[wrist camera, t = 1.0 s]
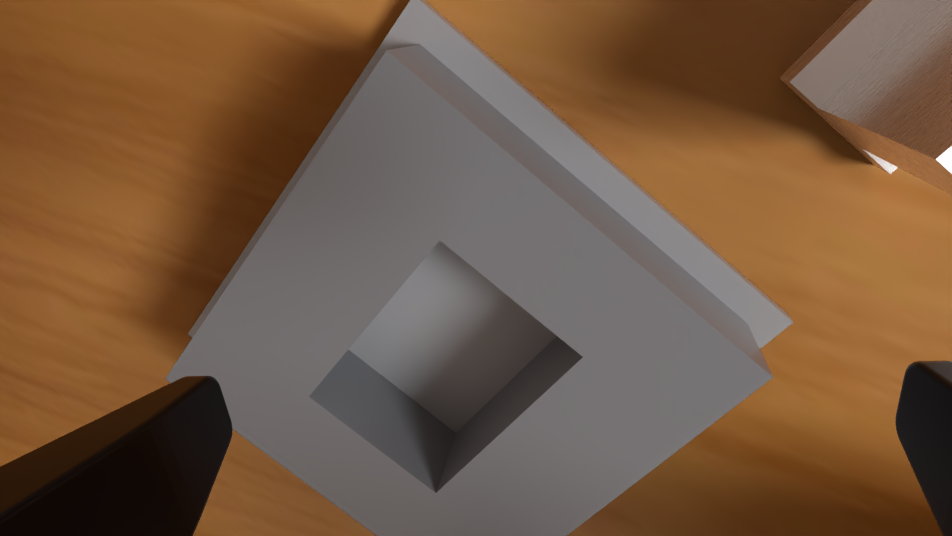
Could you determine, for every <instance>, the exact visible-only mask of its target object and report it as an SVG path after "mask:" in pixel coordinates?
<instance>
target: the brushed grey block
mask: <svg viewBox="0 0 952 536" xmlns="http://www.w3.org/2000/svg"><path fill="white" fill-rule="evenodd" d="M779 79H780V80H781V81H782V82H784V83H785V84H786V85H787V86H788V87H789V88H790V89H791V90H792V91H793V92H795V93H796V94H797V95H798V96H799V97H800V98H801V99H802V100H803V101H804V102H805V103H807V104H808V105H809V106H810V107H811V108H812V109H813V110H814V111H815V112H816V113H817V114H819V115H820V116H821V117H822V118H823V119H824V120H825V121H826V122H827V123H828V124H829V125H831V126H832V127H833V128H834V129H835V130H836V131H837V132H838V133H839V134H840V135H841V136H843V137H844V138H845V139H846V140H847V141H848V142H849V143H850V144H851V145H852V146H854V147H855V148H856V149H857V150H858V151H859V152H860V153H861V154H862V155H863V156H864V157H866V158H867V159H868V160H869V161H870V162H871V163H872V164H873V165H875V166H876V167H878V168H880V169H882V170H884V171H885V172H887V173H889V174H891V173H892V172H893V171H894V170H896V169H897V168H900V169H902V170H904V171H906V172H908V173H910V174H912V175H914V176H916V177H918V178H920V179H921V180H923V181H925V182H927V183H929V184H931V185H933V186H935V187H937V188H939V189H941V190H943V191H945V192H947V193H948V194H950V195H952V0H856V1H855V2H854V3H853V4H852V5H851V6H850V7H849V8H848V9H847V10H846V11H845V12H844V13H843V14H842V15H841V16H840V17H839V18H838V19H837V20H836V21H835V22H834V23H833V24H832V25H831V26H830V27H829V28H828V29H827V30H826V31H825V32H824V33H823V34H822V35H821V36H820V37H819V38H818V39H817V40H816V41H815V42H814V43H813V44H812V45H811V46H810V47H809V48H808V49H807V50H806V51H805V52H804V53H803V54H802V55H801V56H800V57H799V58H798V59H797V60H796V61H795V62H794V63H793V64H792V65H791V66H790V67H789V68H788V69H787V70H786V71H785V72H784V73H783V74H782V75H781V76H780V77H779Z"/></svg>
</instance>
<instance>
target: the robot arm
mask: <svg viewBox="0 0 952 536" xmlns="http://www.w3.org/2000/svg"><path fill="white" fill-rule="evenodd" d="M896 430H897V434H898V437H899V440H900V442H901V444H902V446H903V449H904V451H905V453H906V455H907V457H908V460H909V462H910V464H911V466H912V468H913V471H914V473H915V475H916V477H917V480H918V482H919V484H920V486H921V488H922V491H923V493H924V495H925V497H926V500H927V502H928V504H929V506H930V508H931V511H932V513H933V515H934V517H935V520H936V522H937V524H938V526H939V528H940V531H941V533H942V535H943V536H952V362H951V361H917V362H914V363H912V364H910V365H909V366H908V368H907V369H906V372H905V375H904V380H903V385H902V390H901V394H900V399H899V404H898V409H897V413H896ZM231 437H232V422H231V418H230V415H229V412H228V409H227V406H226V403H225V400H224V397H223V393H222V390H221V387H220V385H219V382H218V381H217V380H216V379H215V378H214V377H212V376H186V377H183V378H180V379H178V380H176V381H174V382H172V383H170V384H168V385H166V386H164V387H162V388H160V389H158V390H156V391H154V392H152V393H150V394H148V395H146V396H144V397H142V398H139V399H137V400H135V401H133V402H131V403H129V404H127V405H125V406H123V407H121V408H119V409H117V410H115V411H113V412H111V413H109V414H107V415H105V416H103V417H101V418H99V419H97V420H95V421H93V422H91V423H89V424H86V425H84V426H82V427H80V428H78V429H76V430H74V431H72V432H70V433H68V434H66V435H64V436H62V437H60V438H58V439H56V440H54V441H52V442H50V443H48V444H46V445H44V446H42V447H40V448H38V449H36V450H34V451H31V452H29V453H27V454H25V455H23V456H21V457H19V458H17V459H15V460H13V461H11V462H9V463H7V464H5V465H3V466H1V467H0V536H193V534H194V531H195V529H196V527H197V524H198V522H199V520H200V517H201V515H202V512H203V510H204V507H205V505H206V502H207V499H208V497H209V494H210V492H211V489H212V487H213V484H214V482H215V479H216V477H217V474H218V471H219V469H220V466H221V464H222V461H223V459H224V456H225V454H226V451H227V449H228V446H229V443H230V441H231Z"/></svg>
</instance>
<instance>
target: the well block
mask: <svg viewBox="0 0 952 536" xmlns="http://www.w3.org/2000/svg"><path fill="white" fill-rule="evenodd" d="M792 323H793V321H792V320H791V318H790V316H789V315H788V314H787V313H786V312H785V311H784V310H783V309H781V308H780V307H779V306H778V305H777V304H776V303H774V302H773V301H772V300H771V299H770V298H769V297H768V296H766V295H765V294H764V293H763V292H762V291H761V290H759V289H758V288H757V287H756V286H755V285H754V284H752V283H751V282H750V281H749V280H748V279H747V278H746V277H744V276H743V275H742V274H741V273H740V272H739V271H737V270H736V269H735V268H734V267H733V266H732V265H730V264H729V263H728V262H727V261H726V260H725V259H723V258H722V257H721V256H720V255H719V254H718V253H717V252H715V251H714V250H713V249H712V248H711V247H710V246H708V245H707V244H706V243H705V242H704V241H703V240H701V239H700V238H699V237H698V236H697V235H696V234H695V233H693V232H692V231H691V230H690V229H689V228H688V227H686V226H685V225H684V224H683V223H682V222H681V221H679V220H678V219H677V218H676V217H675V216H674V215H673V214H671V213H670V212H669V211H668V210H667V209H666V208H664V207H663V206H662V205H661V204H660V203H659V202H657V201H656V200H655V199H654V198H653V197H652V196H650V195H649V194H648V193H647V192H646V191H645V190H644V189H642V188H641V187H640V186H639V185H638V184H637V183H635V182H634V181H633V180H632V179H631V178H630V177H628V176H627V175H626V174H625V173H624V172H623V171H622V170H620V169H619V168H618V167H617V166H616V165H615V164H613V163H612V162H611V161H610V160H609V159H608V158H606V157H605V156H604V155H603V154H602V153H601V152H599V151H598V150H597V149H596V148H595V147H594V146H593V145H591V144H590V143H589V142H588V141H587V140H586V139H584V138H583V137H582V136H581V135H580V134H579V133H577V132H576V131H575V130H574V129H573V128H572V127H571V126H569V125H568V124H567V123H566V122H565V121H564V120H562V119H561V118H560V117H559V116H558V115H557V114H555V113H554V112H553V111H552V110H551V109H550V108H549V107H547V106H546V105H545V104H544V103H543V102H542V101H540V100H539V99H538V98H537V97H536V96H535V95H533V94H532V93H531V92H530V91H529V90H528V89H526V88H525V87H524V86H523V85H522V84H521V83H520V82H518V81H517V80H516V79H515V78H514V77H513V76H511V75H510V74H509V73H508V72H507V71H506V70H504V69H503V68H502V67H501V66H500V65H499V64H498V63H496V62H495V61H494V60H493V59H492V58H491V57H489V56H488V55H487V54H486V53H485V52H484V51H482V50H481V49H480V48H479V47H478V46H477V45H476V44H474V43H473V42H472V41H471V40H470V39H469V38H467V37H466V36H465V35H464V34H463V33H462V32H460V31H459V30H458V29H457V28H456V27H455V26H453V25H452V24H451V23H450V22H449V21H448V20H447V19H445V18H444V17H443V16H442V15H441V14H440V13H438V12H437V11H436V10H435V9H434V8H433V7H431V6H430V5H429V4H428V3H427V2H426V1H425V0H410V1H409V3H408V4H407V6H406V7H405V9H404V10H403V12H402V13H401V15H400V16H399V18H398V19H397V21H396V22H395V24H394V25H393V27H392V28H391V30H390V31H389V33H388V34H387V36H386V37H385V39H384V40H383V42H382V43H381V45H380V46H379V48H378V49H377V51H376V52H375V54H374V55H373V57H372V58H371V60H370V61H369V63H368V64H367V66H366V67H365V69H364V70H363V72H362V73H361V75H360V76H359V78H358V79H357V81H356V82H355V84H354V85H353V87H352V88H351V90H350V91H349V93H348V94H347V96H346V97H345V99H344V100H343V102H342V103H341V105H340V106H339V108H338V109H337V111H336V112H335V114H334V115H333V117H332V118H331V120H330V121H329V123H328V124H327V126H326V127H325V129H324V130H323V132H322V133H321V135H320V136H319V138H318V139H317V141H316V142H315V144H314V145H313V147H312V148H311V150H310V151H309V153H308V154H307V156H306V157H305V159H304V160H303V162H302V163H301V165H300V166H299V168H298V169H297V171H296V172H295V174H294V175H293V177H292V178H291V180H290V181H289V183H288V184H287V186H286V187H285V189H284V190H283V192H282V193H281V195H280V196H279V198H278V199H277V201H276V202H275V204H274V205H273V207H272V208H271V210H270V211H269V213H268V214H267V216H266V217H265V219H264V220H263V222H262V223H261V225H260V226H259V228H258V229H257V231H256V232H255V234H254V235H253V237H252V238H251V240H250V241H249V243H248V244H247V246H246V247H245V249H244V250H243V252H242V253H241V255H240V256H239V258H238V259H237V261H236V262H235V264H234V265H233V267H232V268H231V270H230V271H229V273H228V274H227V276H226V277H225V279H224V280H223V282H222V283H221V285H220V286H219V288H218V289H217V291H216V292H215V294H214V295H213V297H212V298H211V300H210V301H209V303H208V304H207V306H206V307H205V309H204V310H203V312H202V313H201V315H200V316H199V318H198V319H197V321H196V322H195V324H194V325H193V327H192V328H191V330H190V331H189V333H188V335H189V336H191V337H192V340H191V341H190V343H189V344H188V346H187V347H186V349H185V350H184V352H183V353H182V355H181V356H180V357H179V359H178V360H177V362H176V363H175V365H174V366H173V368H172V369H171V371H170V372H169V374H168V375H167V377H166V378H165V379H166V380H167V381H169V382H170V383H172V382H174V381H176V380H178V379H180V378H183V377H186V376H212V377H214V378H215V379H216V380H217V381H218V382H219V385H220V387H221V390H222V393H223V397H224V400H225V403H226V406H227V409H228V412H229V415H230V418H231V422H232V429H233V430H235V431H236V432H237V433H239V434H240V435H241V436H243V437H244V438H245V439H247V440H248V441H249V442H251V443H252V444H254V445H255V446H256V447H258V448H259V449H260V450H262V451H263V452H264V453H266V454H267V455H268V456H270V457H271V458H272V459H274V460H275V461H276V462H278V463H279V464H280V465H282V466H283V467H285V468H286V469H287V470H289V471H290V472H291V473H293V474H294V475H295V476H297V477H298V478H299V479H301V480H302V481H303V482H305V483H306V484H307V485H309V486H310V487H312V488H313V489H314V490H316V491H317V492H318V493H320V494H321V495H322V496H324V497H325V498H326V499H328V500H329V501H330V502H332V503H333V504H334V505H336V506H337V507H338V508H340V509H341V510H343V511H344V512H345V513H347V514H348V515H349V516H351V517H352V518H353V519H355V520H356V521H357V522H359V523H360V524H361V525H363V526H364V527H365V528H367V529H368V530H369V531H371V532H372V533H374V534H375V535H376V536H567V535H568V534H570V533H571V532H572V531H574V530H575V529H576V528H577V527H579V526H580V525H581V524H583V523H584V522H585V521H587V520H588V519H589V518H590V517H592V516H593V515H594V514H596V513H597V512H598V511H600V510H601V509H602V508H604V507H605V506H606V505H607V504H609V503H610V502H611V501H613V500H614V499H615V498H617V497H618V496H619V495H620V494H622V493H623V492H624V491H626V490H627V489H628V488H630V487H631V486H632V485H633V484H635V483H636V482H637V481H639V480H640V479H641V478H643V477H644V476H645V475H646V474H648V473H649V472H650V471H652V470H653V469H654V468H656V467H657V466H658V465H659V464H661V463H662V462H663V461H665V460H666V459H667V458H669V457H670V456H671V455H672V454H674V453H675V452H676V451H678V450H679V449H680V448H682V447H683V446H684V445H686V444H687V443H688V442H689V441H691V440H692V439H693V438H695V437H696V436H697V435H699V434H700V433H701V432H702V431H704V430H705V429H706V428H708V427H709V426H710V425H712V424H713V423H714V422H715V421H717V420H718V419H719V418H721V417H722V416H723V415H725V414H726V413H727V412H728V411H730V410H731V409H732V408H734V407H735V406H736V405H738V404H739V403H740V402H741V401H743V400H744V399H745V398H747V397H748V396H749V395H751V394H752V393H753V392H754V391H756V390H757V389H758V388H760V387H761V386H762V385H764V384H765V383H766V382H768V381H769V380H770V379H771V378H773V376H772V374H771V372H770V370H769V367H768V365H767V363H766V361H765V359H764V357H763V355H762V353H761V351H760V349H761V348H762V347H763V346H764V345H766V344H767V343H768V342H769V341H771V340H772V339H773V338H774V337H776V336H777V335H778V334H779V333H781V332H782V331H783V330H784V329H786V328H787V327H788V326H789V325H791V324H792Z"/></svg>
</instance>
